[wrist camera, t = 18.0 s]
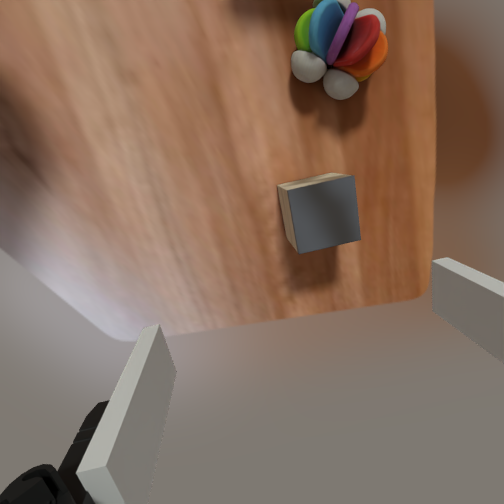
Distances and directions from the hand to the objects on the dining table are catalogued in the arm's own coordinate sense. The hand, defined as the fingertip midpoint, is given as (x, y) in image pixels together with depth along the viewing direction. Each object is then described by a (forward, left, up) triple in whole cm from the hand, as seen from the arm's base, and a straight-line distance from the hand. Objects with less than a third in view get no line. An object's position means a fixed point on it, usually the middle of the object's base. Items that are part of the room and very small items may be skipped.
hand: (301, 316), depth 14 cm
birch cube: (+7, 0, -18) cm, 19 cm away
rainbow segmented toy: (+12, +16, -26) cm, 33 cm away
